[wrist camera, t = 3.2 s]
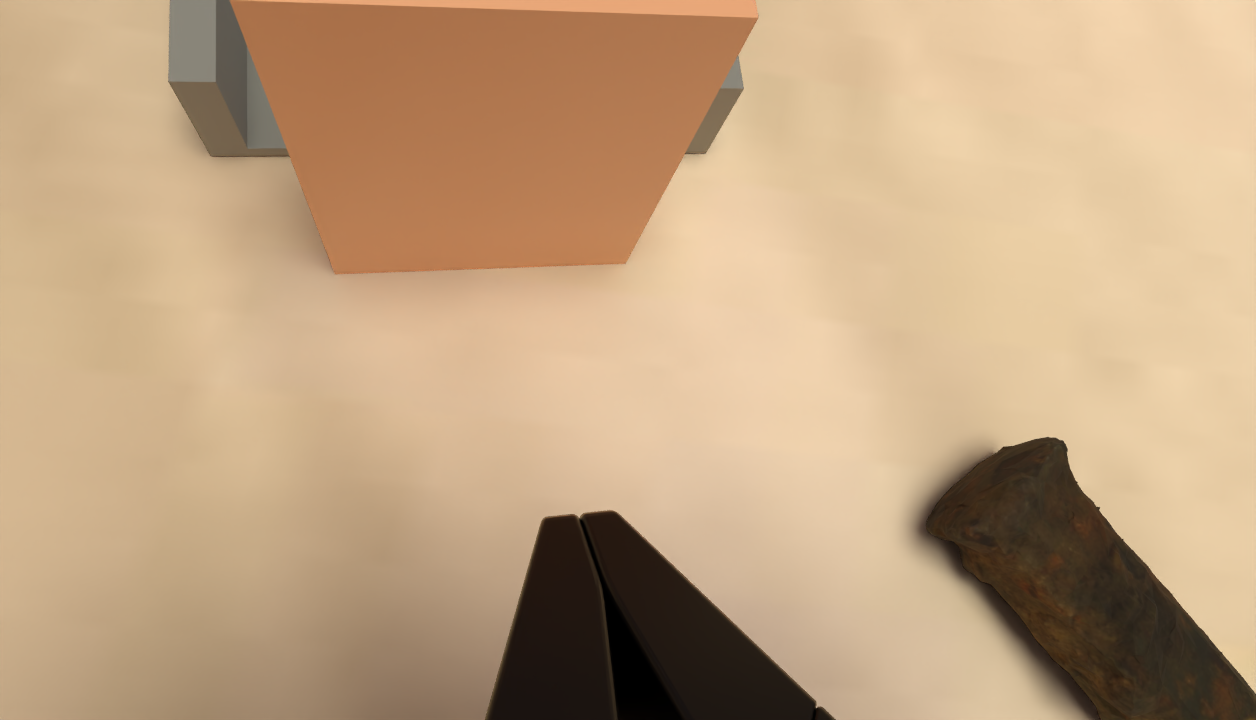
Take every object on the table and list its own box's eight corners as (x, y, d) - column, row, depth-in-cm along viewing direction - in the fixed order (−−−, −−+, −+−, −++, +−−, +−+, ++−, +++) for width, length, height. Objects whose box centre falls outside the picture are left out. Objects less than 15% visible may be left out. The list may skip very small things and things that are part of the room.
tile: (625, 263, 24) (758, 17, 13) (334, 273, 22) (228, 0, 12) (613, 169, 25) (732, -134, 14) (331, 172, 23) (229, -172, 12)
